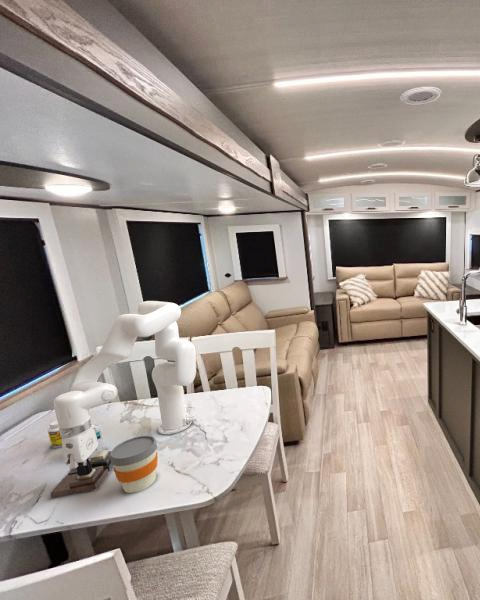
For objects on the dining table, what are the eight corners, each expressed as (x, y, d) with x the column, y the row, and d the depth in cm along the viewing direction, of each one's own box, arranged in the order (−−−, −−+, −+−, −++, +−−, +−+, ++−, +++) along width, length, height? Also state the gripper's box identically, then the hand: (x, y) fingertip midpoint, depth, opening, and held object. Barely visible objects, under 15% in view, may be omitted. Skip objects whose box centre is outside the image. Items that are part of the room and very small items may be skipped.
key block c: (120, 457, 125) (118, 448, 124) (109, 471, 118) (108, 462, 117) (82, 463, 121) (80, 454, 120) (68, 478, 114) (66, 469, 113)
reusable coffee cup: (152, 492, 109) (146, 455, 105) (108, 500, 105) (100, 462, 102) (167, 467, 120) (162, 432, 117) (128, 473, 117) (121, 438, 114)
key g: (96, 473, 113) (95, 468, 113) (90, 480, 110) (89, 475, 110) (83, 475, 112) (82, 470, 112) (77, 483, 109) (76, 478, 109)
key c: (109, 454, 122) (108, 449, 121) (104, 460, 118) (103, 455, 118) (97, 456, 120) (96, 451, 120) (92, 462, 117) (91, 457, 117)
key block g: (108, 473, 117) (106, 464, 116) (96, 489, 109) (94, 479, 109) (66, 481, 113) (64, 471, 112) (51, 498, 105) (49, 488, 105)
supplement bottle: (49, 450, 128) (44, 427, 126) (54, 442, 133) (49, 420, 130) (68, 445, 131) (63, 423, 129) (72, 438, 136) (67, 417, 133)
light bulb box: (106, 449, 129) (101, 426, 127) (85, 460, 123) (80, 435, 121) (89, 443, 133) (85, 420, 130) (69, 453, 126) (63, 429, 124)
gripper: (76, 438, 101) (86, 486, 105) (101, 413, 115) (109, 457, 119) (45, 443, 99) (57, 492, 102) (75, 417, 113) (84, 461, 116)
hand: (85, 473), depth 111 cm, fingers closed
